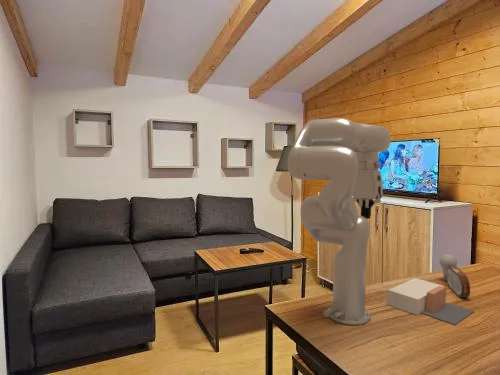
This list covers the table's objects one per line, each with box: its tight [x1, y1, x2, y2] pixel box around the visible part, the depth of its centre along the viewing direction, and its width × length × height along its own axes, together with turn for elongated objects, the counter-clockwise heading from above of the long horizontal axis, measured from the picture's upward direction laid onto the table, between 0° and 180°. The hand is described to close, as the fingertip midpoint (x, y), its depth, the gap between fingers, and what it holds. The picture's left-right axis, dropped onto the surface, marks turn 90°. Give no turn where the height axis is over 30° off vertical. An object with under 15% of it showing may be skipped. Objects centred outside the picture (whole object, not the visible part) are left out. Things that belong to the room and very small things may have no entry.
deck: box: [387, 277, 445, 316], centre depth 117 cm, size 18×10×5 cm, turn 128°
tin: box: [446, 266, 471, 299], centre depth 125 cm, size 15×3×8 cm, turn 168°
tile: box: [426, 285, 447, 313], centre depth 112 cm, size 9×6×2 cm
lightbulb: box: [438, 253, 458, 283], centre depth 136 cm, size 6×6×11 cm
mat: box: [420, 301, 475, 326], centre depth 109 cm, size 14×10×1 cm
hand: (365, 218), depth 123 cm, fingers closed
